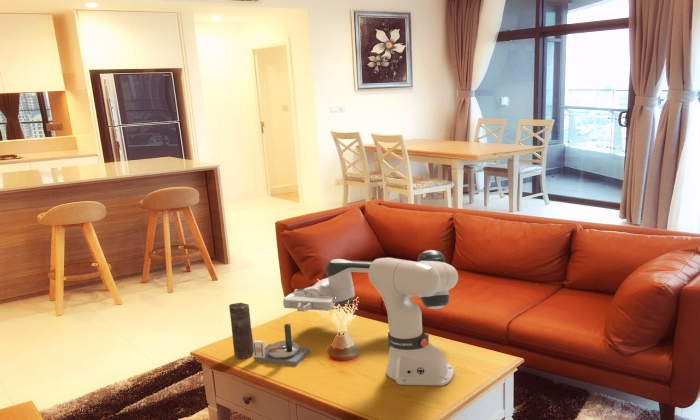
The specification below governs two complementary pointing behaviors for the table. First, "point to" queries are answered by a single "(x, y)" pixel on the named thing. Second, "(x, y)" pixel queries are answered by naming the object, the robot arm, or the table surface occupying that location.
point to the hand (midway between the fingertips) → (300, 309)
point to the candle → (241, 330)
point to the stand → (262, 356)
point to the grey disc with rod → (284, 346)
